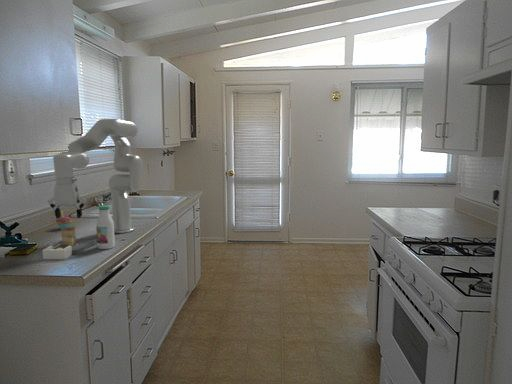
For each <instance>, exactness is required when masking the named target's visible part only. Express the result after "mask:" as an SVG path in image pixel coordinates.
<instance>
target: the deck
mask: <svg viewBox="0 0 512 384" xmlns="http://www.w3.org/2000/svg"><path fill="white" fill-rule="evenodd" d="M59 244H62V240H61V241H58V242H57V243H55V244H53V245H52V246H53V247H55V246H57V245H59ZM76 244H79V246H77V247H76V248H74V249H72V255H80V254H81V253H82V252H83V251H85V250H87V249H88V248H90V247H91V246H92V245H93V244H94V242H93V240H76ZM76 244H74V245H76ZM74 245H73V246H74ZM73 246H72V247H73ZM66 247H68V246H63V245H61V246H60V247H58V248H62V249H64V248H66ZM56 249H57V248H56Z"/></svg>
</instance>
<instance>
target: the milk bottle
mask: <svg viewBox="0 0 512 384" xmlns="http://www.w3.org/2000/svg"><path fill="white" fill-rule="evenodd" d="M98 212H99V214H98V217H97V220H96V224H95V225H96V226H95V228H96V240H97V243H96V245H97V248H98V249H99V250H108V249H113V248H115V246H116V240H115V239H116V238H115V233H114V224H113V217H112V216H111V213H110V206H109V205H108V204H107V205H106V204H105V205H104V204H103V205H100V206H98Z"/></svg>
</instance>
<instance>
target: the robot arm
mask: <svg viewBox="0 0 512 384" xmlns="http://www.w3.org/2000/svg"><path fill="white" fill-rule="evenodd" d="M137 134H138V127H137V124H136V123H134V122H133V121H130V120H124V119H119V118H103V119H98V120H97V121H96V122H95V123H94V124H93V126H92V127H91V128H90V129H89V130H87V132H86V133H85V134H84V135H82V136H80V137H79V138H77V139H76V140H73V141H71V142H70V143H69V144H68V145H69V146H68V149H69V151H68V152H62V151H61V152H62V153H61V152H60V153H58V154H55V155H53V157H52V160H53V161H52V162H53V168H54V170H53V171H54V176H55V177H54V178H55V184H54V191H53V192H54V193H53V194H54V195H53V197H52V198H50V199H48V200H47V202H48V204H49V206H50V207H51V208H52V210H53V211H54V216H55V218H56V219H58V218H59V217H62V213H61V209H60V207H73V206H74V207H75V209H76V217H77V219H80V218H81V217H82V216H83V211H82V210H83V208H84V206H85V205H86V203H87V199H86V198H84V197H82V196H80V192H79V188H78V184H77V181H78V180H77V178H75V177H74V169H84V168H85V167H87V166H88V165H89V163H90V157H89V156H88V154H86V152H90V151H93V150H96V149H99V148H100V146H101V145H102V144H103V143H104V141H105V140H106V139H107V138H108V137H110V138H111V140H112V141H113V145H114V157H113V169H114V170H115V171H116V172H119V173H128V174H118V173H117V174H113V175H112V176H110V178H109V179H108V187H109V190H110V196H111V209H112V210H111V211H112V220H113V224H114V234H123V233H126V234H127V233H130V232H132V231H134V230H135V227H134V226H133V225H132V220H131V219H132V217H131V216H132V215H131V199H130V198H131V197H130V195H129V194H128V193H136V192H139V190H140V189H141V185H142V180H143V176H142V175H143V167H144V166H143V165H144V164H143V160H142V158H141V157H140V156H139V155H135V154H131V152H132V144H131V143H130V141H129V139H132V138H135V137H136V136H137ZM128 138H129V139H128Z"/></svg>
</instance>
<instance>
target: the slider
mask: <svg viewBox="0 0 512 384" xmlns="http://www.w3.org/2000/svg"><path fill="white" fill-rule="evenodd" d="M60 231H61V241H62V245H63V246H73V245H74V244H76V241H77V236H76V226H70V227H64V228H62V229H60Z"/></svg>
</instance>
